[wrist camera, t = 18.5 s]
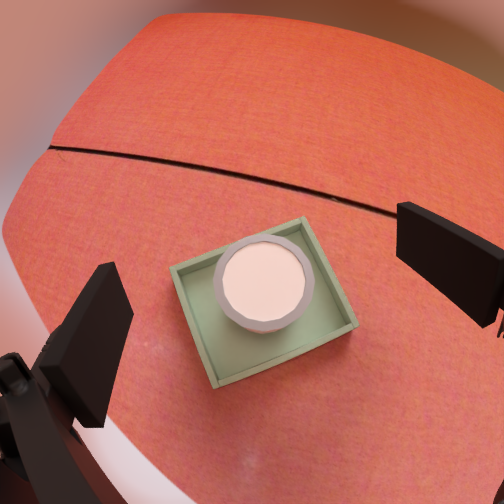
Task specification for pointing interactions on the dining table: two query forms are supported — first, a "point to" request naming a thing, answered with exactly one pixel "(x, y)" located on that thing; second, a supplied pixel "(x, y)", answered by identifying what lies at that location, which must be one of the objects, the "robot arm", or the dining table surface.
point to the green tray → (254, 344)
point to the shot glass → (263, 282)
